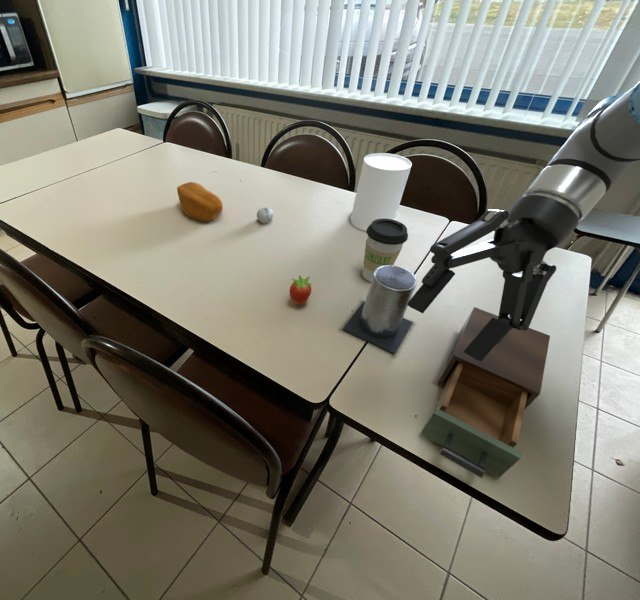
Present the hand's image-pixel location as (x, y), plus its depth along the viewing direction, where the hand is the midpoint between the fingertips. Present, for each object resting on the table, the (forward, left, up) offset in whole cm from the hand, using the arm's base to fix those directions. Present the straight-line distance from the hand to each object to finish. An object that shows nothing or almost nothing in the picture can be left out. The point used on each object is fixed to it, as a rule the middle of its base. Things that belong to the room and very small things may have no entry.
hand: (444, 334), depth 52 cm
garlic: (+75, +11, -23) cm, 79 cm away
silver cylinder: (+23, -6, -22) cm, 33 cm away
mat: (+23, -6, -23) cm, 33 cm away
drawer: (-4, -10, -22) cm, 25 cm away
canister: (+70, -24, -23) cm, 77 cm away
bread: (+85, +31, -23) cm, 93 cm away
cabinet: (+8, -22, -23) cm, 33 cm away
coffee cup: (+42, -13, -23) cm, 49 cm away
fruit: (+34, +10, -23) cm, 42 cm away
